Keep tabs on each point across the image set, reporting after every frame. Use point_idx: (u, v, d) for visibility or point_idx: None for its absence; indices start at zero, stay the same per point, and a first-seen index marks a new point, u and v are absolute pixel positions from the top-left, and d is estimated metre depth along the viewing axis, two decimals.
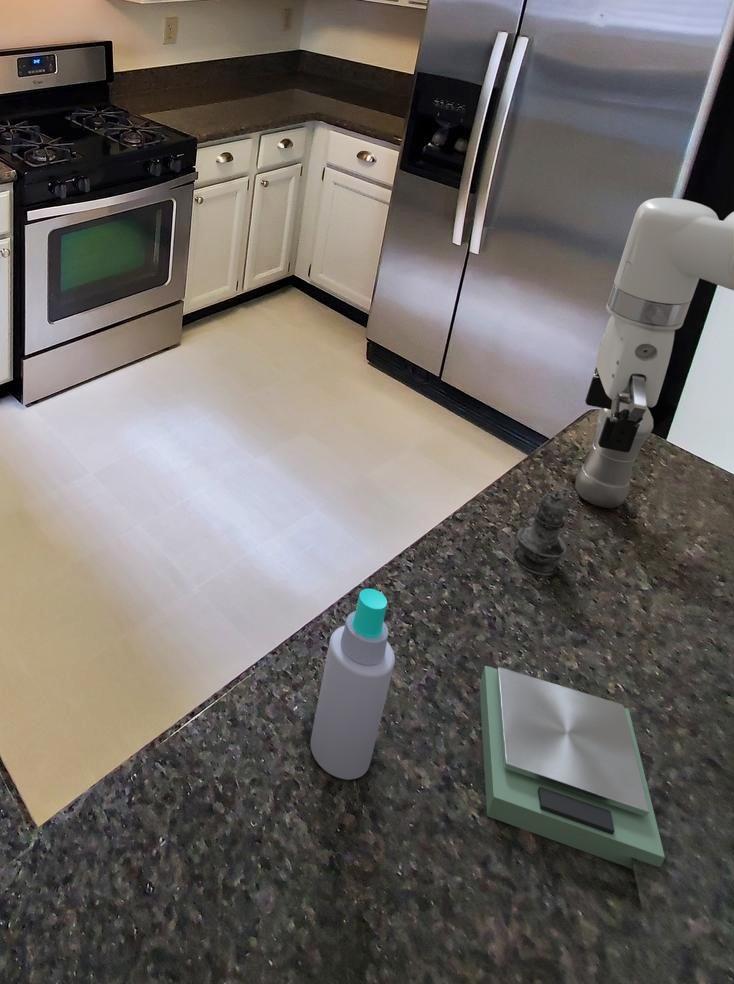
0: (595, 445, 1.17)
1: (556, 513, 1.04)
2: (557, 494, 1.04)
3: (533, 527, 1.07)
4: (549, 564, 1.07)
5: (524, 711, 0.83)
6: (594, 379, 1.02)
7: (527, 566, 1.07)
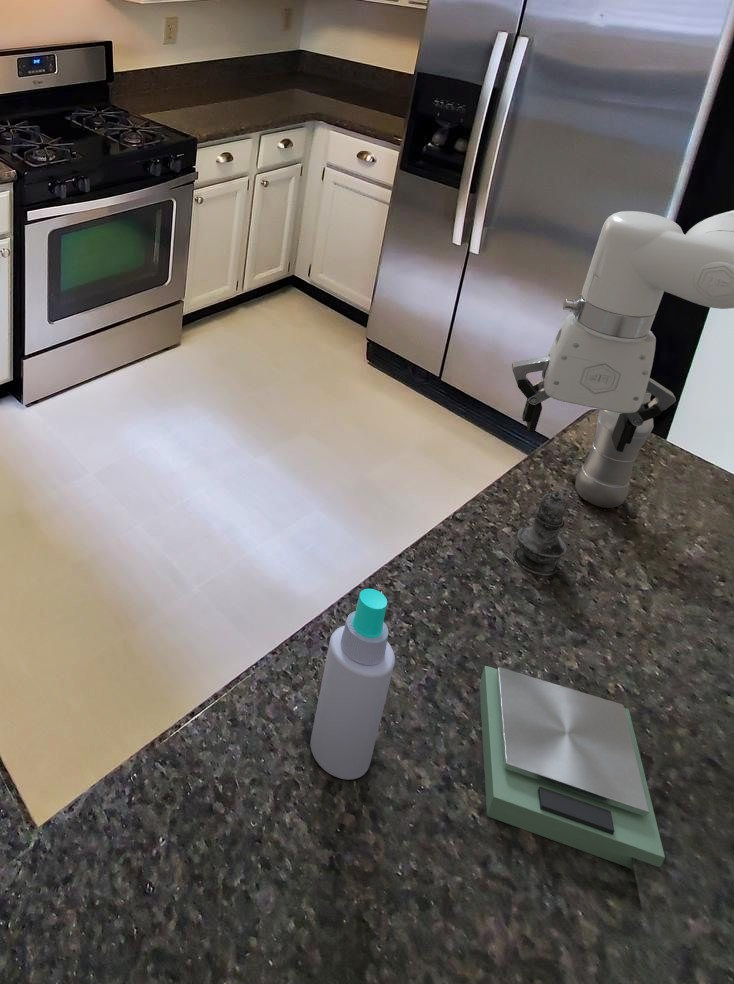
0: (595, 445, 1.17)
1: (556, 513, 1.04)
2: (557, 494, 1.04)
3: (533, 527, 1.07)
4: (549, 564, 1.07)
5: (524, 711, 0.83)
6: (622, 412, 0.98)
7: (527, 566, 1.07)
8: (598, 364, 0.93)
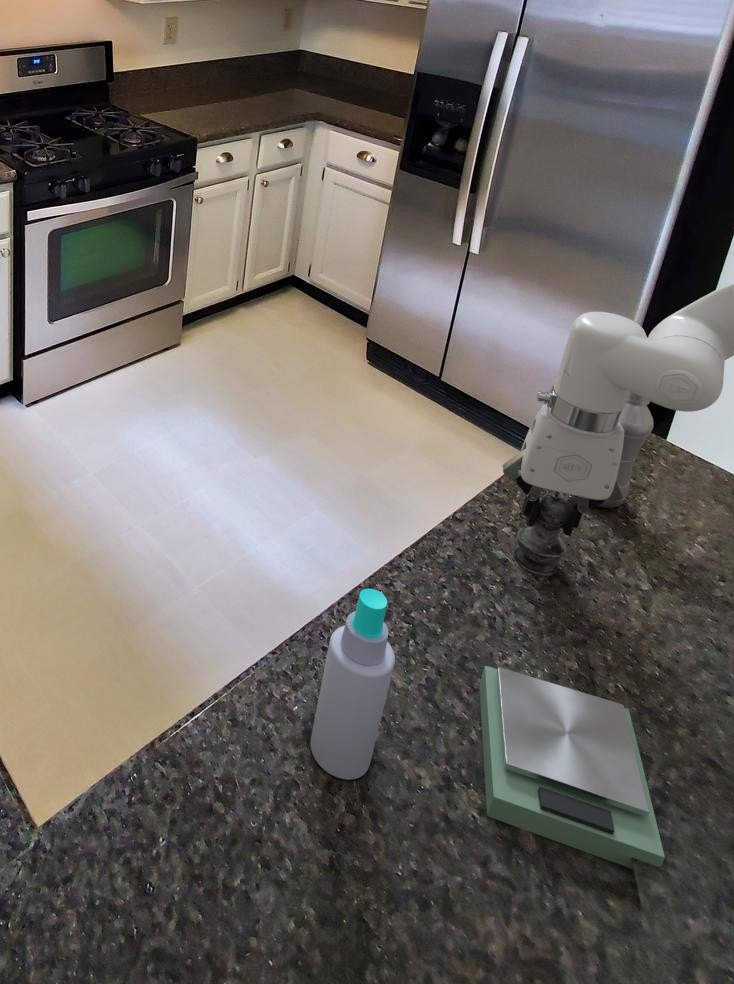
0: None
1: (556, 513, 1.04)
2: (557, 494, 1.04)
3: (533, 527, 1.07)
4: (549, 564, 1.07)
5: (524, 711, 0.83)
6: (570, 498, 1.05)
7: (527, 566, 1.07)
8: (570, 454, 0.98)
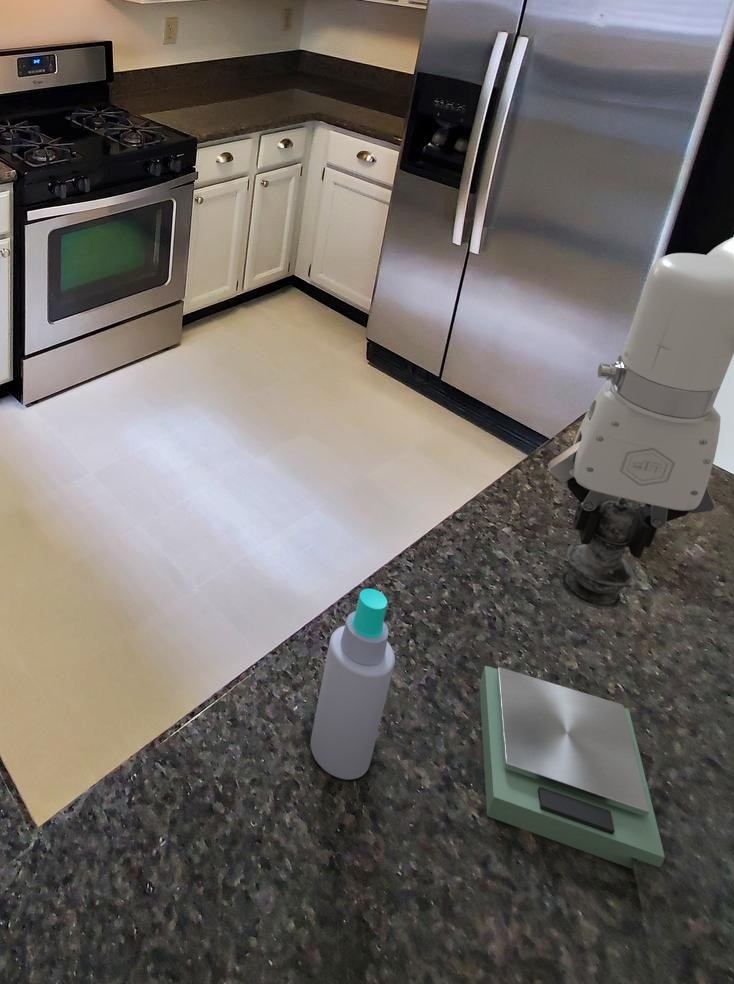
0: None
1: (622, 527, 0.78)
2: (622, 502, 0.78)
3: (588, 545, 0.81)
4: (609, 594, 0.82)
5: (524, 711, 0.83)
6: (639, 507, 0.79)
7: (580, 596, 0.81)
8: (645, 448, 0.73)
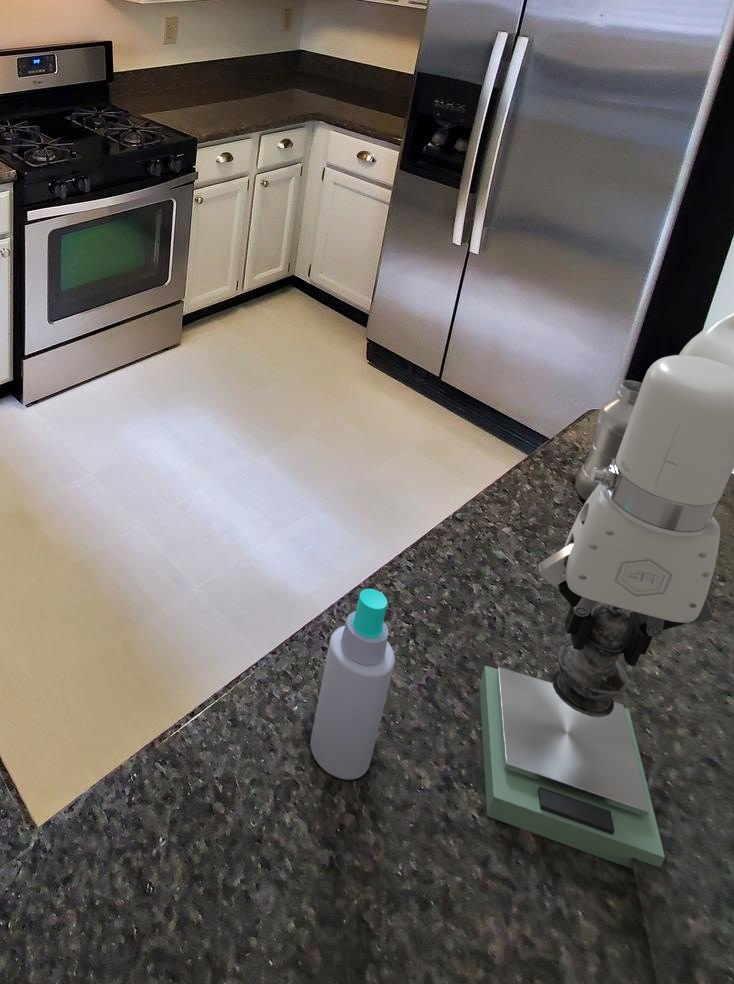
0: (595, 445, 1.17)
1: (616, 634, 0.74)
2: (617, 607, 0.74)
3: (581, 649, 0.77)
4: None
5: (524, 711, 0.83)
6: (633, 611, 0.75)
7: (572, 702, 0.77)
8: (641, 559, 0.69)
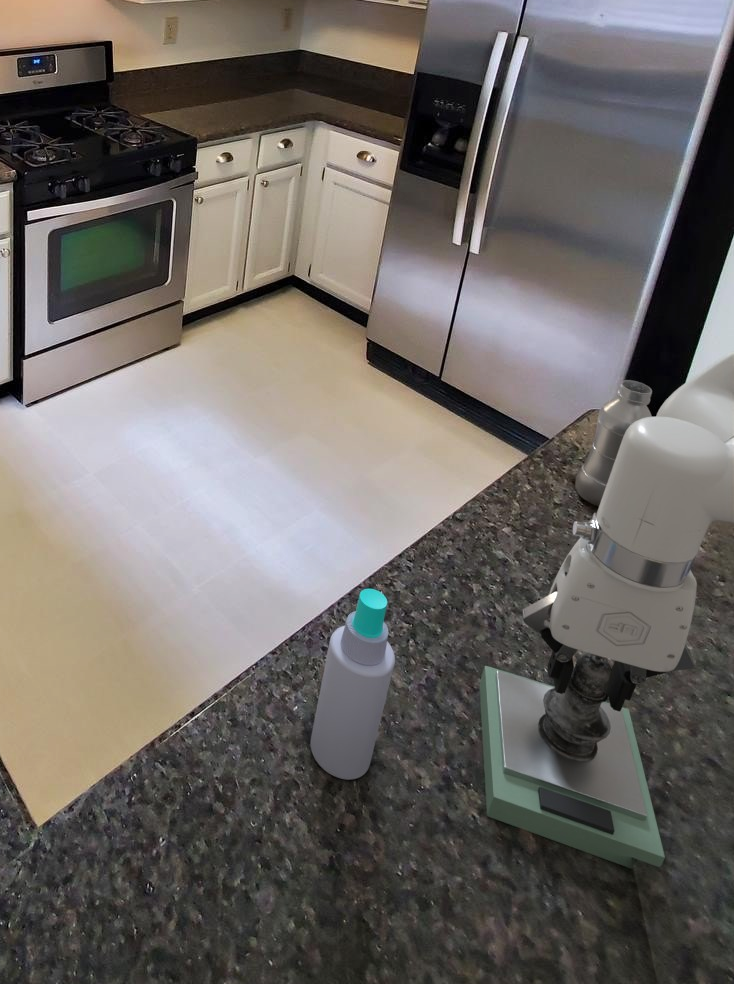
0: (595, 445, 1.17)
1: (598, 683, 0.76)
2: (599, 657, 0.76)
3: (565, 695, 0.79)
4: None
5: (523, 715, 0.84)
6: None
7: (557, 746, 0.80)
8: (621, 611, 0.71)
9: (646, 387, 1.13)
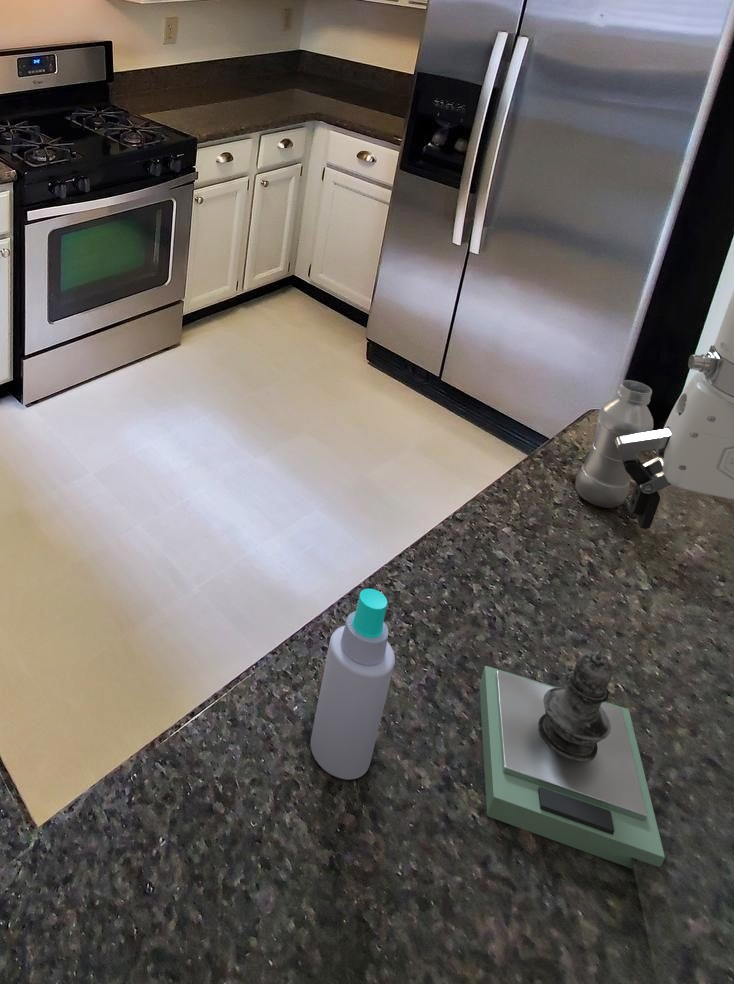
0: (595, 445, 1.17)
1: (599, 683, 0.76)
2: (599, 657, 0.76)
3: (565, 695, 0.79)
4: None
5: (523, 715, 0.84)
6: None
7: (557, 746, 0.80)
8: None
9: (646, 387, 1.13)
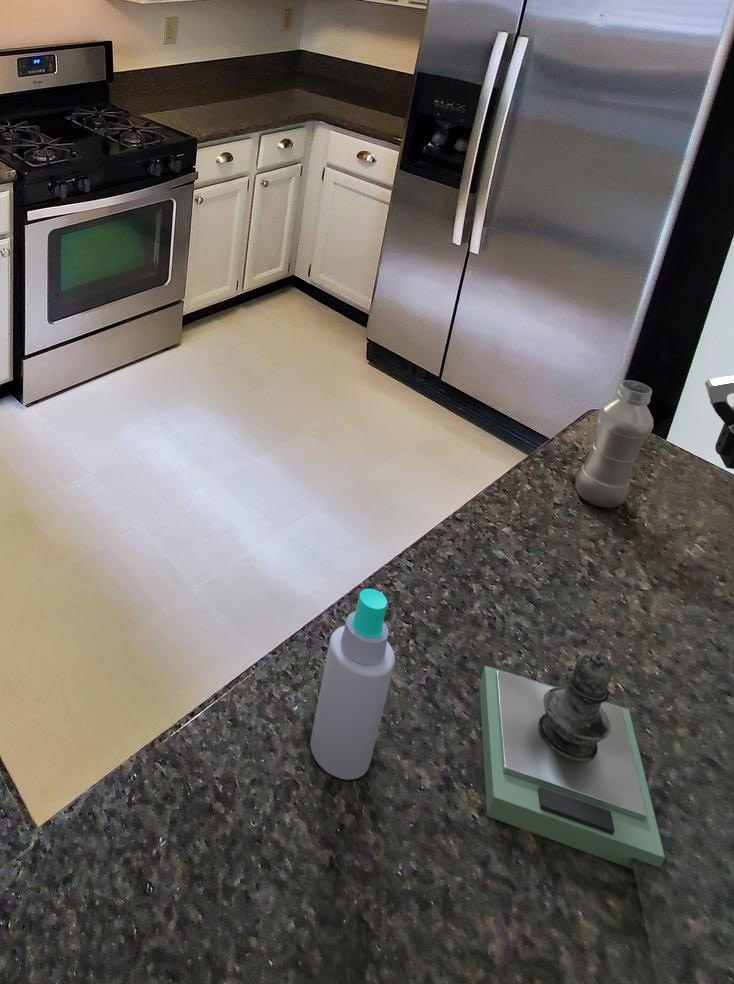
0: (595, 445, 1.17)
1: (599, 683, 0.76)
2: (599, 657, 0.76)
3: (565, 695, 0.79)
4: None
5: (523, 715, 0.84)
6: None
7: (557, 746, 0.80)
8: None
9: (646, 387, 1.13)
